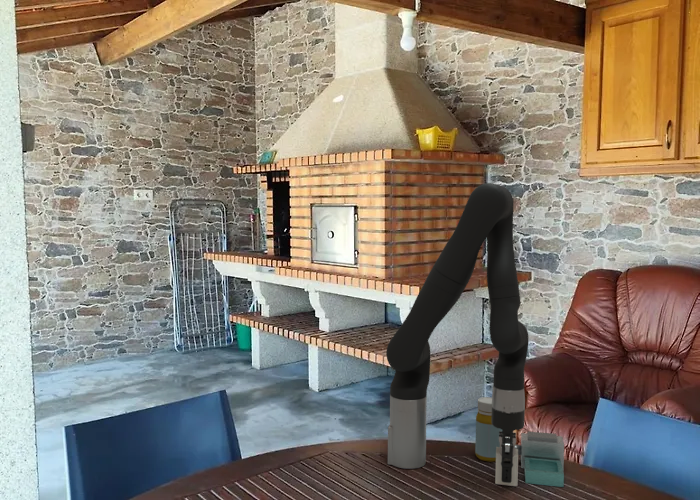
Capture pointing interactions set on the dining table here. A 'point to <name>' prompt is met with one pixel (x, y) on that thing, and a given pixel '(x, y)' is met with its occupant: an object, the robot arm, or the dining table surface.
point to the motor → (542, 458)
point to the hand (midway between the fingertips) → (506, 476)
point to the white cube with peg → (499, 469)
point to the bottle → (486, 431)
